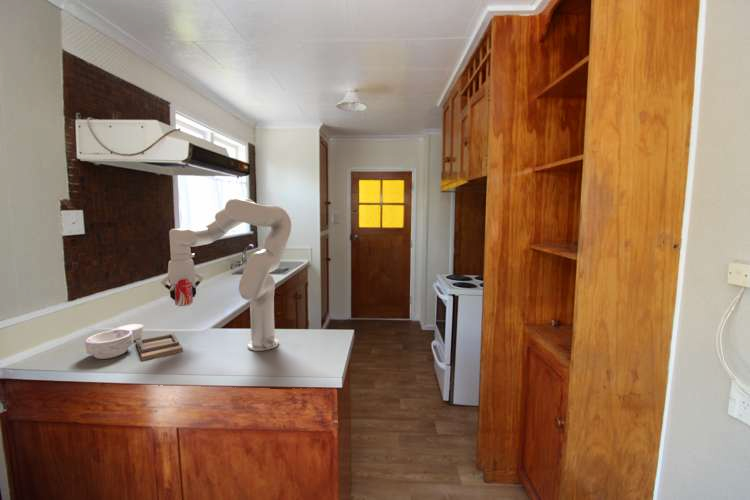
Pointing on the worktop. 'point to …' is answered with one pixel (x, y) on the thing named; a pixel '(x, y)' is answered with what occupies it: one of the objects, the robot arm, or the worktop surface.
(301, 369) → the worktop surface
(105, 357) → the paper bowls
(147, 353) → the tan board
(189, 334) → the worktop surface
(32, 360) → the worktop surface
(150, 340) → the steel frame
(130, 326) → the ramekin
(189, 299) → the soda can
